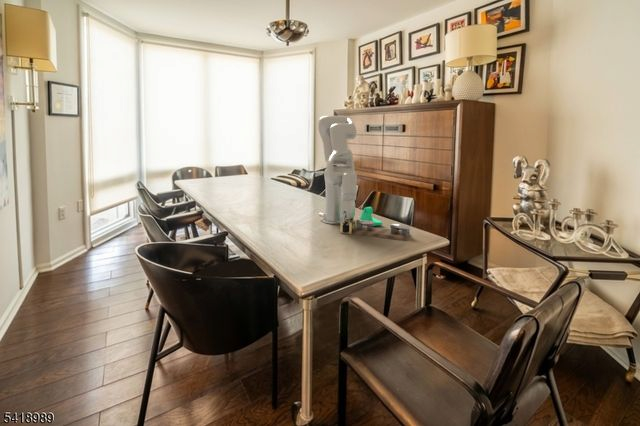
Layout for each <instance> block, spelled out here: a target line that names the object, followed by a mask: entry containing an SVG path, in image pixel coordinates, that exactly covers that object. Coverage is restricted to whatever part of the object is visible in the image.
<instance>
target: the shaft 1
mask: <svg viewBox="0 0 640 426" xmlns="http://www.w3.org/2000/svg"><path fill="white" fill-rule="evenodd" d="M355 220H356V221H355V225H356V227H355V230H361V229H362V226H366V227H367V231H372V229H373V227H375V226H374V221H366V220H360V219H355Z"/></svg>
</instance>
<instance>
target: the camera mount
mask: <svg viewBox="0 0 640 426" xmlns="http://www.w3.org/2000/svg"><path fill="white" fill-rule="evenodd" d="M373 209H374V208H373V207H372V206H367V207H364V208H363V210H362V212H361V215H360V217H359V220H366V221H374V226H373V227H375V226H382V225H383V222H382V221H381V220H379V219H376V218H374V217H372V215H373V213H374V210H373Z"/></svg>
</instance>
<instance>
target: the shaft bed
mask: <svg viewBox="0 0 640 426" xmlns="http://www.w3.org/2000/svg"><path fill="white" fill-rule="evenodd" d="M401 232H402V230H399V232H398V233H397V234H392V233H391V228H381V227H375V226H373V229H372V231H367V226H362V229H361V230H356V229H355V231H354V233H353V234H354V235H361V236H362V235H363V236H368V237H376V238H383V239H384V238H385V239H391V240H399V241H406V240H407V239H408V238H409V236H410V234H411V233H410V232H411V231H409V234H408V235H407V236H403V235H401Z"/></svg>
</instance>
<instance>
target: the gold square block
mask: <svg viewBox="0 0 640 426" xmlns="http://www.w3.org/2000/svg"><path fill="white" fill-rule="evenodd" d="M356 220H357V219H353V220H349V223H348V225H349V232H348V233H345V232H342V231H343V225H342V223H343V222H342V221H341V223H340V224H339V225H340V226H339V229H340V230H339V231H340V234H347V235H353V234H354V231H355V230H356ZM345 221H346V222H347V220H345Z"/></svg>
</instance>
